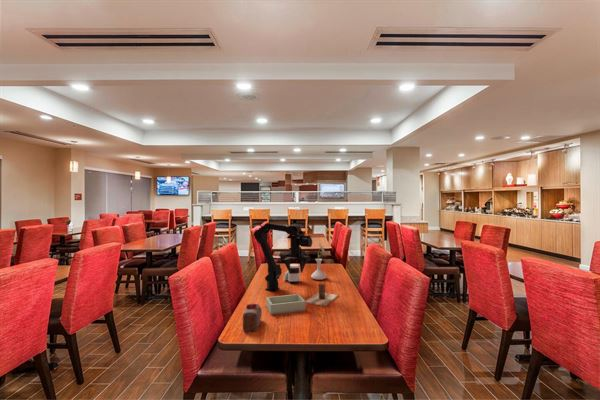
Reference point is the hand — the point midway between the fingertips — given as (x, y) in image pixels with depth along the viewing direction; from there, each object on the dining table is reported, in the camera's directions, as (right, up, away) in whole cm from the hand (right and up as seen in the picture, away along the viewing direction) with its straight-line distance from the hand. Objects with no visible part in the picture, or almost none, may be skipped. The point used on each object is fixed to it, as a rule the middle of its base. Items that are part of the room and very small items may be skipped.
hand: (295, 271), depth 186 cm
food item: (-19, -14, -46) cm, 51 cm away
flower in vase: (+16, -13, +33) cm, 39 cm away
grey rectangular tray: (-5, -14, -25) cm, 29 cm away
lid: (+15, -14, -11) cm, 23 cm away
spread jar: (-3, -13, +25) cm, 28 cm away
